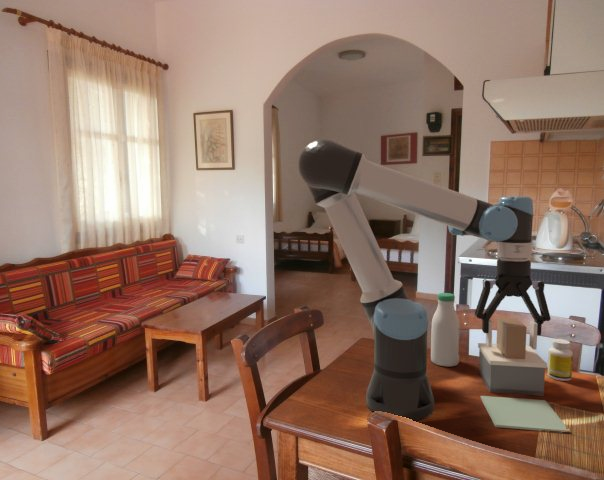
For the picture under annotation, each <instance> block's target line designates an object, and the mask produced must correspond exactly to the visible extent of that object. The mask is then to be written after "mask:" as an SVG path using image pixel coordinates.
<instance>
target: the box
mask: <svg viewBox="0 0 604 480" xmlns="http://www.w3.org/2000/svg"><path fill="white" fill-rule="evenodd" d="M478 349H479V348H478ZM478 354H479V355H478V357H479V358H478V374H479V375H480V376H481V377H480V378H481V379H482V380H483V382H484V384H485V386H486V387H487V389H488V390H489V393H497V394H499V393H500V394H512V395H513V394H514V395H526V396H528V395H529V396H541V397H542V396H543V397H544V396H545V379H546V378H545V376H546V375H545V372H546V368H538V367H521V366H504V365H490V364H489V362H488V361H487V359H486V358H485V356H484V355H483V353H482V352H481V350H480V349H479V352H478Z"/></svg>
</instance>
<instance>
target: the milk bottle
mask: <svg viewBox="0 0 604 480" xmlns="http://www.w3.org/2000/svg"><path fill="white" fill-rule="evenodd" d="M455 298H456V297H455V294H454V293H450V292H440V293H437V303H438V304H437V308H436V310H435V312H434V314H433V316H432V319H431V331H430V334H431V335H430V338H431V339H430V360H431V362H432V363H433V364H435V365H437V366H441V367H447V368H448V367H455V366H458V364H459V363H460V333H461V330H460V327H461V325H460V320H459V317H458V315H457V312H456V310H455V306H454V303H455Z"/></svg>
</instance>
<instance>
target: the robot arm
mask: <svg viewBox="0 0 604 480" xmlns="http://www.w3.org/2000/svg"><path fill="white" fill-rule="evenodd" d="M298 170H299V171H298V172H299V175H300V176H301V178H302V179H303V181H304V183H306V185H307V187H308V189H309V192H310V194H311V195H312V198H313V200H314V203H315V205H317V206H319V207H321V208H323V209H324V210H325V212H326V214H327V217H328V220H329V221H330V223H331V225H332V227H333V230H334V233H335V234H336V237H337V238H338V240H339V243H340V246H341V247H342V249H343V252H344V254H345V256H346V259H347V261H348V264H349V265H350V267H351V269H352V272H353V273H354V276H355V278H356V281H357V282H358V285H359V287H360V289H361V291H362V293H361V296H360V300H359V301H360V303H361V305H362V307H363V309H364V312H365V314H366V316H367V319H368V321H369V323H370V326H371V329H372V333H373V343H374V344H373V346H374V347H373V349H374V350H373V351H374V352H373V353H374V354H373V358H374V359H373V366H374V367H373V372H372V375H371V377H370V380H369V384H368V387H367V389H366V393H365V394H366V396H365V398H366V399H365V401H366V403H365V404H366V407H368V409H369V410H370V411H371V412H373V411H382V412H387V413H391V414H394V415H398V416H402V417H406V418H409V419H412V420H415V421H421V420H424V419H426V418H428V417H430V416H431V415H433V412H434V411H435V397H434V393H433V391H432V387H431V385H430V381H429V377H428V376H427V375H428V373H427V365H428V364H427V357H428V356H427V355H428V327H429V319H428V312H427V309H426V308H425V306H423V305H422V304H421V303H419V302H418V301H414V300H411V299H410V298H409V296H408V294H407V292H406V289H405V287H404V284H403V283H402V281H400V280H397V279H394V277H393V274H392V271H391V270H390V268H389V266H388V263H387V261H386V259H385V257H384V255H383V253H382V251H381V248H380V246H379V244H378V242H377V239H376V237H375V235H374V232H373V230H372V228H371V226H370V224H369V222H368V219H367V217H366V215H365V213H364V210H363V207H362V206H361V203H360V201H359V199H358V197H357V195H360V196H362V197H365V198H369V199H372V200H375V201H377V202H380V203H383V204H386V205H389V206H392V207H393V208H394V207H395V208H397V209H401V210H402V211H406V212H408V213H412V214H414V215H417V216H420V217H423V218H425V219H428V220H431V221H433V222H437V223H440V224H442V225H444V226H445V225H446V226H447V228H448V231H449V233H450V234H451V235H453V236H460V237H464V236H472V237H476V238H481V239H484V240H487V241H490V242H492V243H493V242H495V243H496V242H497V251H496V252H497V255H496V256H497V257H498V259H497V260H496V276H495V278H494V279H487V278H484V279H483V280H482V290H481V293H480V296H479V299H478V303H477V305H476V309H475V311H474V315H475V317H476V318H477V319H481V323H482V324H481V325H482V326H481V330H482V332H483V334H485V344H486V345H487V346H488V347H492V344H493V343H492V341H493V321H492V319H491V318H492V316H493V315H494V314H495V312H496V310H497V309H498V308H499V306H500V304H501V302H502V301H503V300H504V299H505V298H506V297H517V298H521V299H522V301H523V302H524V304H525V306H526V307H527V309H528V311H529V313H530V315H531V317H532V318H533V320H530V321H529V323H530V324H529V345H528V346H529V347H530V348H531V349H532V350H537V343H538V342H537V341H538V336H539V337H540V336H541V335H542V326H543V324H544V322H550V321H551V319H552V318H551V315H550V311H549V307H548V304H547V301H546V295H545V292H544V291H545V282H543V281H542V280H539V279H538V280H532V279H531V271H532V270H531V267H532V262H531V260H530V259H531V258H532V243H533V242H532V241H533V240H532V237H533V236H532V235H533V220H534V201H533V199H532V197H530V196H501V197H499V199H498V203H497V204H493V203H489V202H486V201H484V200H481V199H478V198H475V197H473V196H470V195H467V194H465V193H461V192H459V191H456V190H452V189H450V188H448V187H445V186H442V185H438V184H437V183H433V182H431V181H430V182H429V181H427V180H425V179H422V178H419V177H416V176H413V175H410V174H407V173H405V172H402V171H398V170H396V169H392V168H390V167H387V166H385V165H381V164H380V163H375V162H373V161H371V160H368V159H367V157H366V156H365V154H364V153H362V152H359V151H357V150H353V149H352V148H349V147H347V146H344V145H342V144H340V143H338V142H337V141H333V140H330V139H326V138H325V139H324V138H323V139H322V138H321V139H316V140H314V141H311V142H310V143H308V144H307V145H306V146H305V147H304V148H303V149H302V151H301V152H300V155H299V158H298ZM356 194H357V195H356ZM494 286H496V287H497V290H496V293H495V294H494V296H493V298H492V299H491V301H490V302H489V304H488V306H487V307H486V305H487V302H488V299H489V296H490V293H491V289H493V288H494ZM531 287H532V289H533V290H534V292H535V296H536V300H537V304H538V308H539V312H538V310H537V308H536V307H535V305H534V303H533V301H532V299H531V296H530V295H529V293H528V292H527V291H528V290H529V289H530V288H531ZM485 308H486V309H485Z"/></svg>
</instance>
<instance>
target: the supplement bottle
mask: <svg viewBox="0 0 604 480" xmlns="http://www.w3.org/2000/svg"><path fill="white" fill-rule="evenodd" d="M551 345H552V346H551V347H550V348H549V349H548V358H547V359H548V361H547V376H548V377H549V378H551V379H553V380H556V381H562V382H568V381H571V380H572V375H573V374H572V373H573V359H574V358H573V357H574V356H573V350H571V349H570V348H571V342H570V341H569V340H567V339H563V338H553V339H552V342H551Z"/></svg>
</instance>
